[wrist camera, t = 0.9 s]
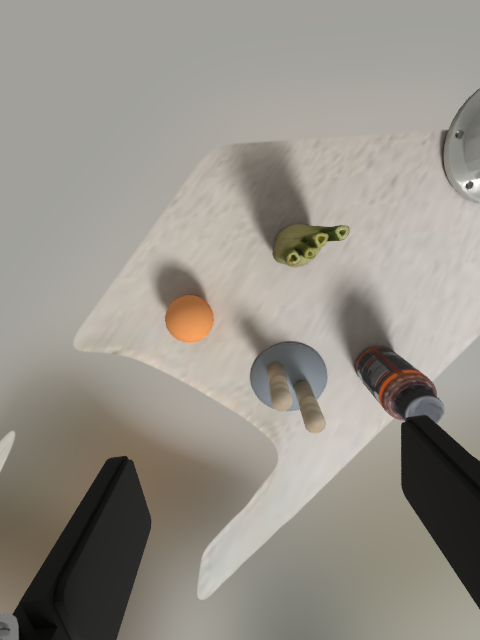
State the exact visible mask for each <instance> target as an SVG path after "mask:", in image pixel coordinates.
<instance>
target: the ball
mask: <svg viewBox="0 0 480 640" xmlns="http://www.w3.org/2000/svg"><path fill="white" fill-rule="evenodd" d="M213 321H214V317H213V312H212V309H211V307H210V306H209V304H208V303H207V302H206V301H205V300H204V299H202V298H200V297H198V296H194V295H185V296H181V297H179V298H177V299H175V300H174V301H173V302H172V303H171V304H170V305H169V307H168V309H167V311H166V316H165V322H166V326H167V329H168V331H169V332H170V334H171V335H172V336H173V337H175V338H176V339H178V340H180V341H182V342H187V343H192V342H197V341H199V340H201V339H203V338H204V337H206V336H207V335H208V333H209V332H210V330H211V329H212V326H213Z"/></svg>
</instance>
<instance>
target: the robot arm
mask: <svg viewBox="0 0 480 640" xmlns="http://www.w3.org/2000/svg"><path fill="white" fill-rule="evenodd" d="M444 166H445V171H446V174H447V177H448V180H449V181H450V183H451V185H452V186H453V188H454V189H455V190H456V191H457V192H458V193H459V194H460V195H462V196H463V197H465V198H466V199H468V200H471V201H474V202H477V203H480V89H478V90H477V91H476V92H475V93H474V94H473V95H472V96H471V97H469V98H468V100H467V101H466V102H465V103H464V104H463V106H462V107H461V108H460V109H459V111H458V113H457V114H456V116H455V118H454V119H453V121H452V123H451V126H450V128H449V130H448V133H447V137H446V141H445V145H444ZM401 467H402V469H401V472H402V473H401V475H402V476H401V477H402V478H401V482H402V484H401V485H402V490H403V493H404V495H405V497H406V499H407V500H408V501H409V503H410V505H411V506H412V508H413V509H414V511H415V512H416V514H417V515H418V516H419V518H420V520H421V521H422V523H423V524H424V526H425V527H426V529H427V530H428V532H429V533H430V535H431V536H432V538H433V539H434V541H435V542H436V544H437V545H438V547H439V548H440V550H441V551H442V553H443V554H444V556H445V557H446V559H447V560H448V562H449V563H450V565H451V567H452V568H453V569H454V571H455V573H456V574H457V576H458V577H459V579H460V580H461V582H462V583H463V584H464V586H465V588H466V589H467V591H468V592H469V594H470V595H471V597H472V598H473V600H474V601H475V603H476V604H477V606H478V607H479V609H480V461H478V460H477V459H476V458H475V457H473V456H472V455H471V454H469V453H468V452H467V451H466V450H465V449H464V448H463V447H462V446H461V445H460V444H458V443H457V442H456V441H455V440H454V439H453V438H452V437H450V435H448V434H447V433H446V432H445V431H444V430H443V429H441V427H440V426H438V425H437V424H436V423H435V422H434V421H433V420H432V419H431V418H430V417H428V416H427V415H419V416H412V417H407V418H406V420H405V422H403V423H402V425H401ZM150 529H151V516H150V513H149V510H148V507H147V504H146V500H145V497H144V494H143V491H142V488H141V485H140V482H139V478H138V475H137V472H136V469H135V466H134V463H133V461H132V460H129V459H128V458H127V456H122V457H114V458H109V459H108V460H107V461H106V462H105V464H104V466H103V467H102V469H101V470H100V472H99V474H98V475H97V477H96V479H95V480H94V482H93V483H92V485H91V487H90V488H89V490H88V492H87V493H86V495H85V497H84V498H83V500H82V501H81V503H80V505H79V506H78V508H77V509H76V511H75V513H74V514H73V516H72V518H71V519H70V521H69V523H68V524H67V526H66V527H65V529H64V531H63V532H62V534H61V535H60V537H59V539H58V540H57V542H56V544H55V545H54V547H53V549H52V550H51V552H50V553H49V555H48V557H47V558H46V560H45V562H44V563H43V565H42V566H41V568H40V570H39V571H38V573H37V574H36V576H35V578H34V579H33V581H32V583H31V585H30V586H29V588H28V589H27V591H26V592H25V594H24V596H23V597H22V599H21V601H20V602H19V605H18V606H17V608H16V609H15V611H14V613H13V614H0V640H116V639H117V636H118V632H119V629H120V626H121V623H122V620H123V616H124V613H125V610H126V607H127V603H128V600H129V597H130V594H131V591H132V587H133V584H134V581H135V578H136V575H137V571H138V568H139V565H140V562H141V559H142V555H143V552H144V549H145V546H146V542H147V539H148V536H149V533H150Z"/></svg>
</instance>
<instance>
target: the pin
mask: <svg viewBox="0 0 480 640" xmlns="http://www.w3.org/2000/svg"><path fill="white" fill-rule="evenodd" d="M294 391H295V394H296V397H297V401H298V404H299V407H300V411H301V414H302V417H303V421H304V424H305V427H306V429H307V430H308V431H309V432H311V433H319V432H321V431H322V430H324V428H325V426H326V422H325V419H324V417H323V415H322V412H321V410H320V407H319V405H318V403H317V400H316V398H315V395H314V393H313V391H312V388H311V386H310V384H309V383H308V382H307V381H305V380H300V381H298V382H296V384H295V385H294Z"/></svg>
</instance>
